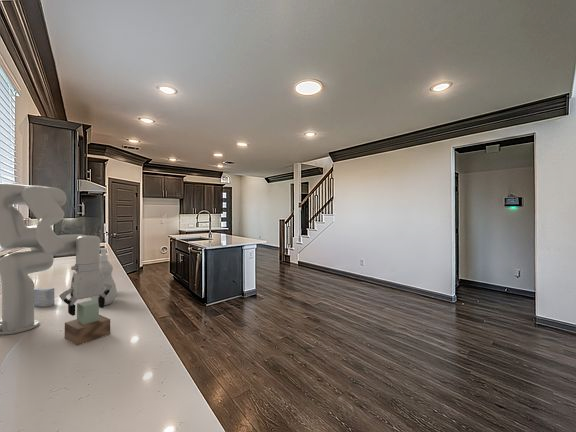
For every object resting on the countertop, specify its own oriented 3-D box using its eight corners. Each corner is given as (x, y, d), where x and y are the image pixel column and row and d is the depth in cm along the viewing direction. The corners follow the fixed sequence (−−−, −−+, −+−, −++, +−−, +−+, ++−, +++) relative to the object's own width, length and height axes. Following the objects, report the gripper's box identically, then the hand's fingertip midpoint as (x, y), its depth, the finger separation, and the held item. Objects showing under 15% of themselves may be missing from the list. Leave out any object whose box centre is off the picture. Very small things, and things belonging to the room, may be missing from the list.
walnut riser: (77, 345, 97) (77, 329, 97) (64, 338, 103) (64, 322, 103) (110, 334, 106) (110, 319, 106) (96, 327, 112) (97, 313, 112)
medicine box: (54, 304, 140) (54, 287, 140) (46, 307, 136) (46, 290, 136) (41, 303, 141) (41, 287, 141) (32, 306, 137) (32, 289, 137)
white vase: (86, 302, 144) (86, 247, 144) (111, 297, 153) (111, 246, 152) (93, 310, 133) (94, 251, 132) (120, 304, 141) (120, 248, 141)
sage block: (83, 324, 101) (83, 306, 101) (76, 321, 104) (76, 303, 104) (98, 320, 105) (98, 302, 105) (91, 317, 108) (91, 299, 108)
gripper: (64, 272, 95) (63, 320, 95) (116, 265, 110) (115, 306, 110) (56, 269, 99) (55, 315, 99) (107, 263, 114) (106, 303, 114)
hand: (87, 310), depth 105 cm, fingers open, 9 cm apart
